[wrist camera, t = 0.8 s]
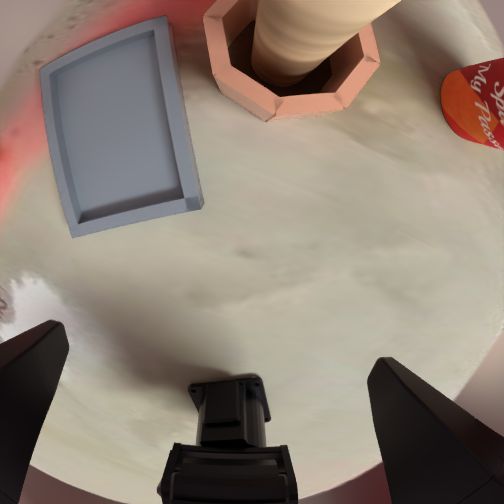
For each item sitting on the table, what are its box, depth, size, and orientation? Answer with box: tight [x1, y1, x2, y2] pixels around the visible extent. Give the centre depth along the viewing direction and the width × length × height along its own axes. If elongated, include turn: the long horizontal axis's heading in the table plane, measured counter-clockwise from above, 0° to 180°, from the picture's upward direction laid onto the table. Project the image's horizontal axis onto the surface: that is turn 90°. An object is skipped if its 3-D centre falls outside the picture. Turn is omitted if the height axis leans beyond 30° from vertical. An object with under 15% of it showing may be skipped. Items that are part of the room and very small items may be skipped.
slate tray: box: [40, 15, 204, 238], centre depth 15 cm, size 12×9×2 cm
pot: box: [203, 0, 380, 122], centre depth 12 cm, size 8×8×5 cm
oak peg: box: [251, 0, 401, 87], centre depth 9 cm, size 4×4×12 cm
